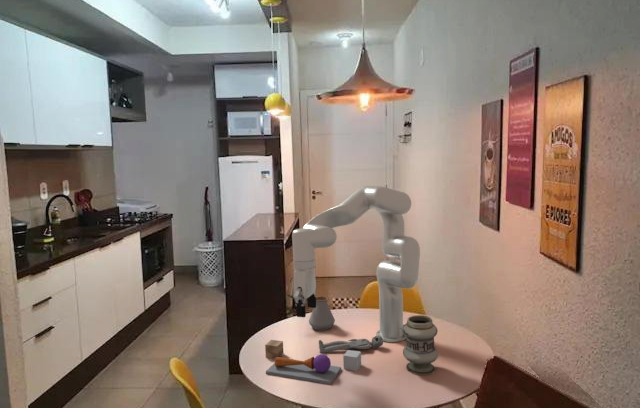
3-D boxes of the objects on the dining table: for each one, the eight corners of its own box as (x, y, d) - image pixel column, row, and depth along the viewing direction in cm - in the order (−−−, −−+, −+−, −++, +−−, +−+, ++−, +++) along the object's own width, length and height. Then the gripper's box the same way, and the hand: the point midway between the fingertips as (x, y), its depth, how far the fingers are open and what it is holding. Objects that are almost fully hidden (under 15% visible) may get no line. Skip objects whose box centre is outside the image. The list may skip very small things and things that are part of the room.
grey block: (361, 365, 167) (361, 351, 167) (357, 371, 163) (356, 357, 162) (348, 363, 169) (347, 349, 169) (343, 369, 164) (343, 355, 164)
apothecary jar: (395, 367, 164) (395, 318, 162) (418, 357, 171) (418, 310, 169) (422, 380, 155) (422, 327, 153) (445, 369, 162) (445, 319, 160)
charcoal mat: (341, 369, 164) (341, 367, 164) (330, 384, 154) (330, 381, 153) (280, 360, 173) (279, 358, 172) (265, 373, 162) (265, 371, 162)
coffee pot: (335, 322, 210) (334, 289, 209) (334, 331, 199) (333, 297, 197) (288, 322, 211) (287, 290, 210) (285, 332, 200) (283, 298, 198)
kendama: (279, 351, 169) (332, 352, 162) (280, 368, 168) (333, 370, 162) (272, 355, 163) (327, 356, 157) (273, 372, 163) (328, 375, 156)
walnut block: (283, 353, 179) (282, 341, 178) (277, 359, 174) (277, 346, 174) (271, 352, 180) (271, 339, 180) (265, 357, 176) (265, 344, 175)
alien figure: (318, 336, 184) (381, 331, 185) (319, 348, 185) (381, 343, 186) (319, 345, 176) (384, 339, 177) (320, 357, 177) (385, 351, 178)
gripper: (304, 258, 171) (306, 303, 173) (283, 270, 155) (286, 319, 157) (323, 258, 168) (325, 304, 170) (304, 271, 152) (307, 321, 154)
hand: (306, 311), depth 163 cm, fingers open, 9 cm apart
